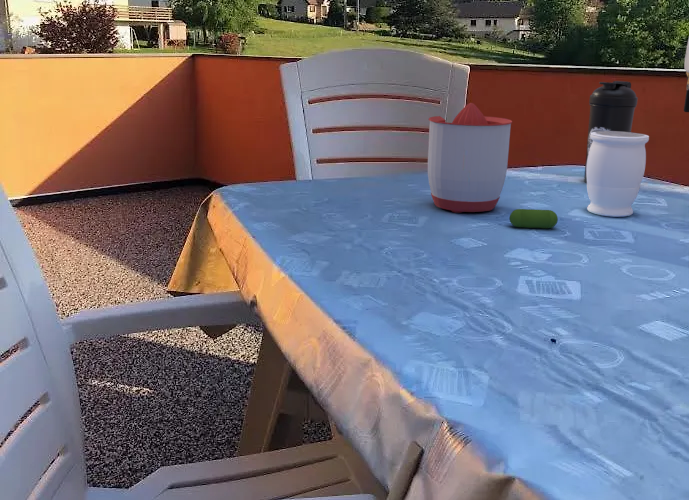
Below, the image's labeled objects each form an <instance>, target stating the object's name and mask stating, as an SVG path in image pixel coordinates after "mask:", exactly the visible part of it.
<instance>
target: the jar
mask: <svg viewBox="0 0 689 500" xmlns="http://www.w3.org/2000/svg"><path fill="white" fill-rule="evenodd" d="M590 138H591V139H592V140H593V142H592V145H591V147H590V150H589V154H588V158H587V166H586V177H587V183H586V190H587V191H586V192H587V195H588V200H589V201H590V203H589V204H588V206H587V207H586V210H587V211H588V212H590V213H592V214H595V215H598V216H603V217H614V218H617V217H618V218H624V217H629V216H632V215H633V213H634V209H633V208H632V205H633V204H634V202H635V200H636V199H637V197H638V195H639V191H640V188H641V184H642V182H643V179H644V176H645V170H646V163H647V151H646V150H647V149H646V144H647V143H648V142H649V140H650V136H649V135H648V134H645V133H639V132H633V131H631V132H621V131H598V132H592V133H591V135H590Z"/></svg>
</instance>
